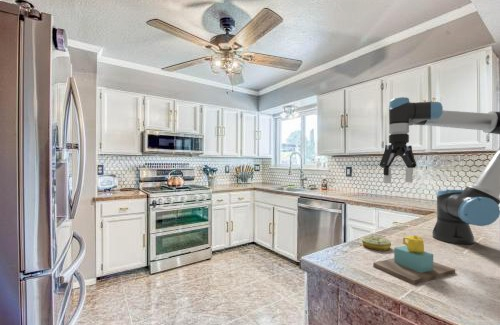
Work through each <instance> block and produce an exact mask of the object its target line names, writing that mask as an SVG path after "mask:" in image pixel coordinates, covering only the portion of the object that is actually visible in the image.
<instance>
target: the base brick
mask: <svg viewBox="0 0 500 325" xmlns="http://www.w3.org/2000/svg"><path fill="white" fill-rule="evenodd" d="M393 251H394V254H393V255H394V257H393V258H394V262H395V263H397V264H400V265H402V266H405V267H407V268H410V269H412V270H415V271H417V272H420V273H423V272H426V271H430V270H433V262H434V253H431V252H428V251H425V250H424V253H422V254H419V253H418V252H414V251H413V253H411V252H409V250H408V247H407V246H406V245H402V246H397V247H394V250H393Z"/></svg>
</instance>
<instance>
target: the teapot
mask: <svg viewBox="0 0 500 325" xmlns="http://www.w3.org/2000/svg"><path fill="white" fill-rule="evenodd" d="M406 240H407V242H406ZM402 244H403V245H404V246H407V247H408V250H409V252H411V253H413V251H414V252H418V253H419V254H422V253H424V251H425V246H424V245H425V244H424V239H423V237H422V236H418V235H407V237H406V236H405V237H404V236H403V238H402Z"/></svg>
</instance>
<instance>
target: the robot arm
mask: <svg viewBox="0 0 500 325" xmlns="http://www.w3.org/2000/svg"><path fill="white" fill-rule="evenodd" d="M414 125H415V126H428V127H441V128H452V129H464V130H465V129H466V130H473V131H474V130H475V131H476V130H477V131H482V132H484V133H485V134H494V135H500V111H489V112H487V113H486V112H474V111H458V110H443V104H442V103H441V102H439V101H423V102H410V99H409V97H404V96H402V97H395V98H392V99H391V100H390V101H389V106H388V126H389V127H388V129H389V130H388V134H389V135H388V143H389V144H385V145H384V146H385V147H384V151H383V154H382V157H381V160H380V163H379V166H380V168H383V183H384V184H392V164H393V162H394V160H395V159H396V157H397V156H399V157H401V159H402V161H403V162H404V165H405V166H406V167H405V183H412V184H413V179H414V177H413V173H414V168H416V167H417V166H418V165H417V162H416V159H415V156H414V152H413V145H407V144H408V143H409V141H410V135H409V132H410V126H414ZM499 205H500V146H499V148H498V149H497V150H496V151H495V153H494V155H493V156H492V157H491V159H490V160H489V162H488V163H487V164H486V166H485V168H484V169H483V170H482V172H481V173H480V175H479V176H478V177H477V178H476V180H475V182H474V183H472V185H471V184H470V185H467V186H465V188H464V189H439V190H437V194H436V223H435V225H434V227H433V230H432V238H434V239H436V240H438V241H441V242H445V243H449V244H450V243H451V244H458V245H473V244H475V236H474V234H473V231H472V228H471V226H476V227H477V226H478V227H480V226H481V227H484V226H489V225H492V224H493V223H495V222H497V220H498V219H499V217H500V206H499ZM470 225H471V226H470Z"/></svg>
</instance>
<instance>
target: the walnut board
mask: <svg viewBox="0 0 500 325" xmlns="http://www.w3.org/2000/svg"><path fill="white" fill-rule="evenodd" d="M372 264H373V265H372V266H373V267H375V268H376V269H379V270H381V271H383V272H385V273H387V274H390V275H393V276H394V277H397V278H398V279H401V280H402V281H405V282H408V283H410V284H412V285H417V284H420V283H424V282H425V283H426V282H428V281H432V280H436V279H439V278H442V277H445V276H449V275H453V274H455V273H456V269H455V268H453V267H450V266H447V265H444V264H441V263H438V262H435V261H433V270H430V271H426V272H423V273H420V272H417V271H415V270H412V269H410V268H407V267H405V266H402V265H400V264H397V263H395V262H394V257H393V258H390V259H385V260H380V261H376V262H375V261H374V262H373V263H372Z"/></svg>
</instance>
